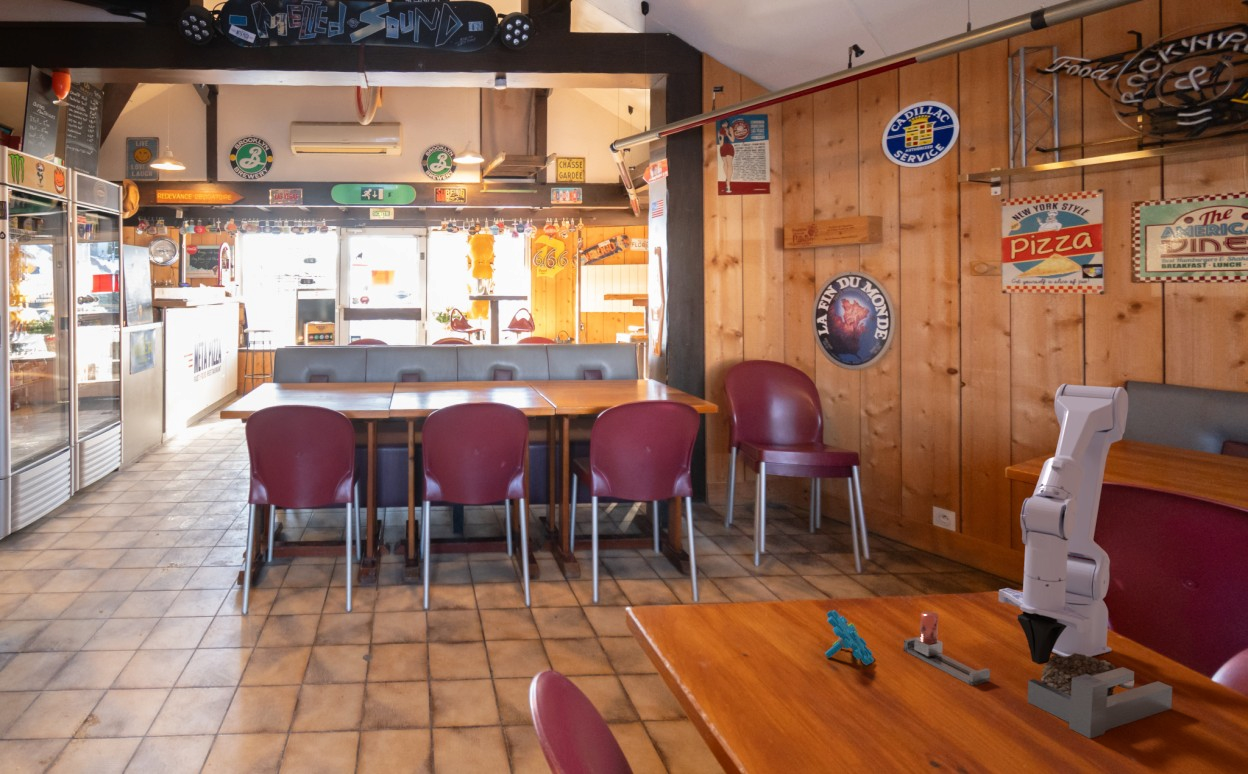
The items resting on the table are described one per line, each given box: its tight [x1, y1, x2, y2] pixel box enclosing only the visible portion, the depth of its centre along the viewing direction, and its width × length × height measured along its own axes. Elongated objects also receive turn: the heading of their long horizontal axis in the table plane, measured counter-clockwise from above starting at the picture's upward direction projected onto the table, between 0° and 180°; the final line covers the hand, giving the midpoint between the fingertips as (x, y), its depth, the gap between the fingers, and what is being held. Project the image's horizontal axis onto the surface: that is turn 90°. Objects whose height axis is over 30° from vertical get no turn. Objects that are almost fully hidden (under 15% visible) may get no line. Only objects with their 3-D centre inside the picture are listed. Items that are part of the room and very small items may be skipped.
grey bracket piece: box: [1027, 667, 1174, 739], centre depth 116 cm, size 18×10×7 cm, turn 115°
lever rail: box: [903, 636, 991, 686], centre depth 130 cm, size 4×14×2 cm, turn 25°
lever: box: [914, 610, 943, 656], centre depth 132 cm, size 3×3×6 cm
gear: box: [824, 609, 875, 666], centre depth 132 cm, size 11×6×10 cm
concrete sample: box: [1040, 653, 1116, 697], centre depth 119 cm, size 12×10×5 cm
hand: (1040, 661), depth 125 cm, fingers closed
